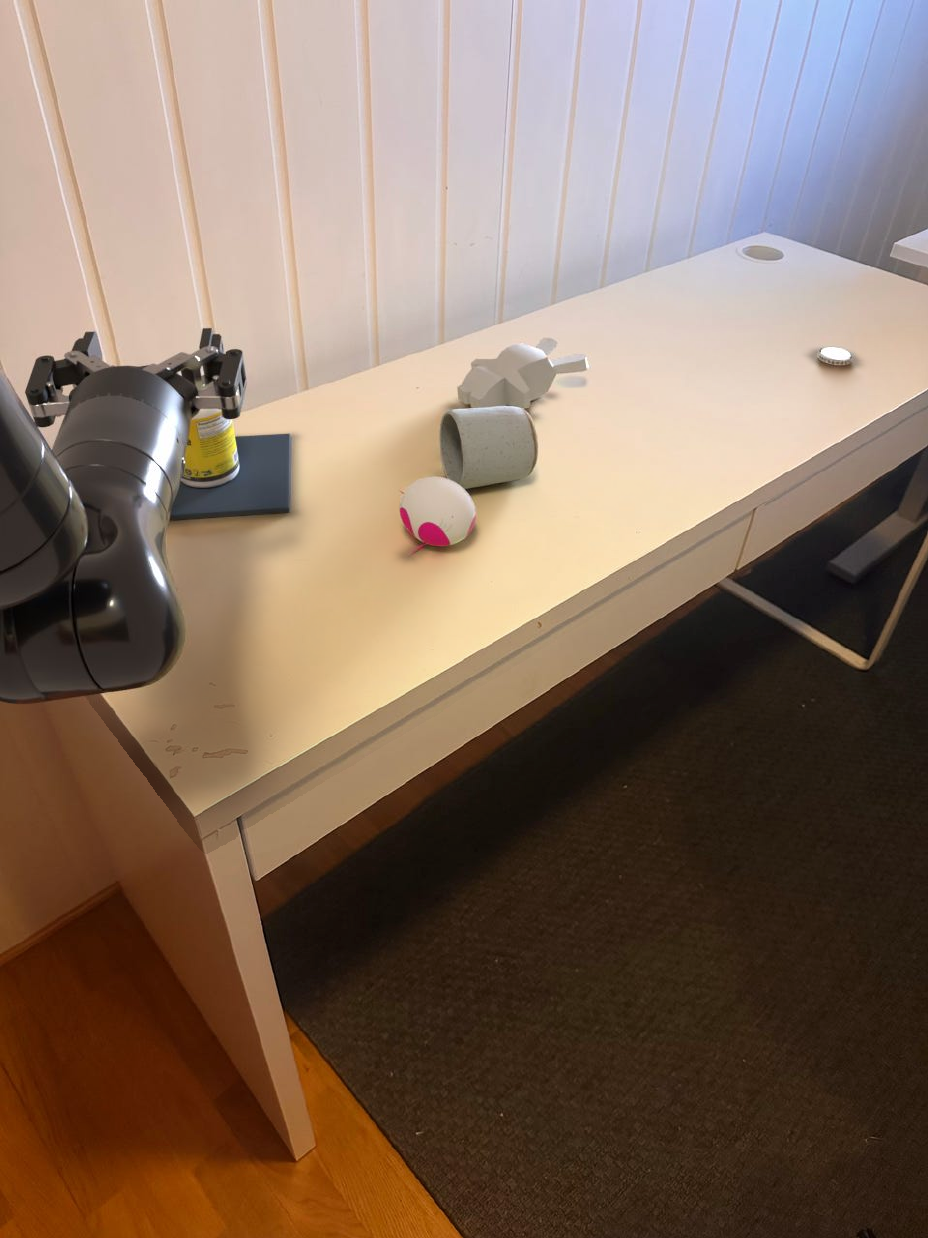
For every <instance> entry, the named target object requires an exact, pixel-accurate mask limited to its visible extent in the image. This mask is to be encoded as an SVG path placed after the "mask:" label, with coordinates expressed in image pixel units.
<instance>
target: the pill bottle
mask: <svg viewBox="0 0 928 1238" xmlns="http://www.w3.org/2000/svg"><path fill="white" fill-rule="evenodd" d="M200 372H201V376H202V375H204V371H203V365H202V366H201V369H200ZM178 374H179V375H181V371H180V372H178ZM181 376H182V375H181ZM235 437H236V436H235V429H234V423H233V419H225V418H223V416H222V410H220V409H200V411H199V413H198V414H197V415H196V416H194V417H193V418H192V419H191V423H190V431H189V436H188V442H187V448H186V454H185V470H184V474H183V476H182V477H181V482H182V483H184V484H186V485H188V486H191V487H195V488H209V487H215V486H219V485H222V484H225V483H227V482H229V481H230V480H232V479H233V478H234V477H235V476H236V475H237V473H238V471H239V458H238V452H237V446H236V440H235Z"/></svg>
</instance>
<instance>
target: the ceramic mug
mask: <svg viewBox="0 0 928 1238" xmlns="http://www.w3.org/2000/svg"><path fill="white" fill-rule="evenodd" d="M438 435H439V437H438V438H439V440H438V441H439V451H440V457H441V458H440V459H441V463H442V468H443V472H444V475H445V478H447V479H450V480H452V481H454V482H456V483H457V484H459V485H460V486H462V487H463V488H464V489H465V490H466V489H467V490H468V489H472V488H478V487H484V486H490V485H494V484H499V483H507V482H514V481H517V480H521V479H524V478H525V477H528V476H529V475H530V474H531V473H532V472H534V471H533V470H534V469H535V467H536V465H537V461H538V457H539V440H538V439H539V437H538V432H537V429H536V425H535V422H534V420H533V418H532V416H531V415H530V413H529V412H527V410H526V409H523V408H520V407H515V406H511V405H506V406H496V407H485V408H472V407H470V408H457V409H456V408H455V409H448V410H446V411H445V412H444V413H443V415H442V416H441V419H440V423H439V434H438Z"/></svg>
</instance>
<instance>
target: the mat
mask: <svg viewBox="0 0 928 1238" xmlns="http://www.w3.org/2000/svg"><path fill="white" fill-rule="evenodd" d="M291 439H292V438H291V433H274V434H273V433H272V434H257V435H239V436H238V435H237V436H235V440H236V446H237V452H238V458H239V471H238V473H237V475H236V476H235V477H234V478H233V479H232V480H230V481H229V482H227V483H225V484H222V485H219V486H215V487H209V488H195V487H191V486H188V485H186V484H184V483H182V482H180V486H179V490H178V493H177V495H176V498H175V500H174V502H173V504H172V508H171V514H170V519H169V521H178V520H195V519H197V520H198V519H209V518H224V517H227V518H228V517H240V516H241V517H243V516H256V515H257V516H258V515H271V514H284V513H285V514H286V513H290V508H291V503H290V502H291V443H292V442H291V441H292V440H291Z"/></svg>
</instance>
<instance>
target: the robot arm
mask: <svg viewBox="0 0 928 1238" xmlns="http://www.w3.org/2000/svg"><path fill="white" fill-rule="evenodd" d="M199 340H200V341H199V347H198V348H199V349H198V350H195V351H194V352H192V353H191V354H190V353H187V352H185V351H184V352H183V351H181V352H179V353H177V354H175V355H173V356H171V357H169V358H166V360H164V361H161V362H160V363H157V364H156V363H150V364H147V365H140V366H138V365H137V366H136V365H116V366H115V365H114V364H112V365H110V364H108V363H107V362H105V361H104V360H103V352H102V347H101V344H100V340H99V335H98V333H97V331H85V332H84V335H83V337H79V338H78V339H76V340H75V341H74V343H73V346H72V348H71V350H70V351H67V352H65V353H64V355H63V356H64V358H62V359H58V360H55V357H54V356H53V355H41V356H38V357H37V358H35V362H34V364H33V366H32V369H31V373H30V376H29V379H28V381H27V384H26V388H25V391H24V393H25V394H24V395H25V396H26V400H27V403H28V406H29V410H30V412H31V414H30V413H29V411H28V410H27V408H26V406H25V405H24V403H23V402H22V400H21V398H20V396H19V395H18V393H17V391H16V390H15V388H14V386H13V385H12V382H11V381H10V379H9V378H8V376H7V374H6V372H5V370H4V369H3V367H2V365H1V364H0V702H1V703H2V702H3V703H7V704H12V705H32V704H39V703H45V702H47V703H48V702H53V701H59V700H67V699H72V698H73V699H74V698H81V697H86V696H88V697H89V696H94V695H101V694H106V693H107V694H108V693H116V692H123V691H129V690H130V691H131V690H136V689H142V688H144V687H147V686H151V685H153V684H154V683H156V682H159V681H160V680H161V679H163V678H164V677H165V676H167V675H168V674H169V673H170V671H171V670H172V669H173V668H174V667H175V665H176V664H177V663H178V661H179V660H180V658H181V655H182V653H183V651H184V649H185V645H186V638H187V636H186V635H187V624H186V617H185V613H184V612H185V611H184V608H183V604H182V600H181V597H180V594H179V591H178V588H177V584H176V582H175V579H174V576H173V574H172V573H173V572H172V570H171V568H170V567H171V566H170V563H169V557H168V549H167V535H168V530H169V524H170V520H169V519H170V514H171V508H172V504H173V502H174V500H175V498H176V495H177V493H178V490H179V486H180V482H181V477H182V476H183V474H184V470H185V454H186V448H187V442H188V436H189V431H190V423H191V419H192V418H193V417H194V416H196V415H197V414H198V413H199V411H200V409H220V410H222V416H223V418H225V419H232V420H235V419H238V418H239V417H240V416H241V412H242V407H243V404H244V400H245V394H246V390H247V385H248V379H247V374H246V367H245V360H244V359H245V358H244V353H243V350H241V349H238V348H232V349H227V350H226V352H225V350H224V343H223V337H222V335H221V334H220V333H214V329H213V327H203V328H202V331H201V335H200V339H199ZM202 365H203V371H204V375H202V376H201V372H200V369H201V366H202ZM180 371H181V375H182V376H181V375H179V374H178V372H180ZM71 385H72V389H71V391H70V392H69V393H68V395H65V394H63V392H64V387H65V386H71ZM62 416H64V417H63V419H62V422H61V424H60V427H59V429H58V432H57V435H56V436H55V439H54V443H53V445H52V448H51V446H50V445H49V443H48V442H47V440H46V438H45V436H44V435H43V434H42V432H41V430H40V428H48V427H51V426H53V425H54V424H55V422H56V418H58V417H62Z"/></svg>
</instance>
